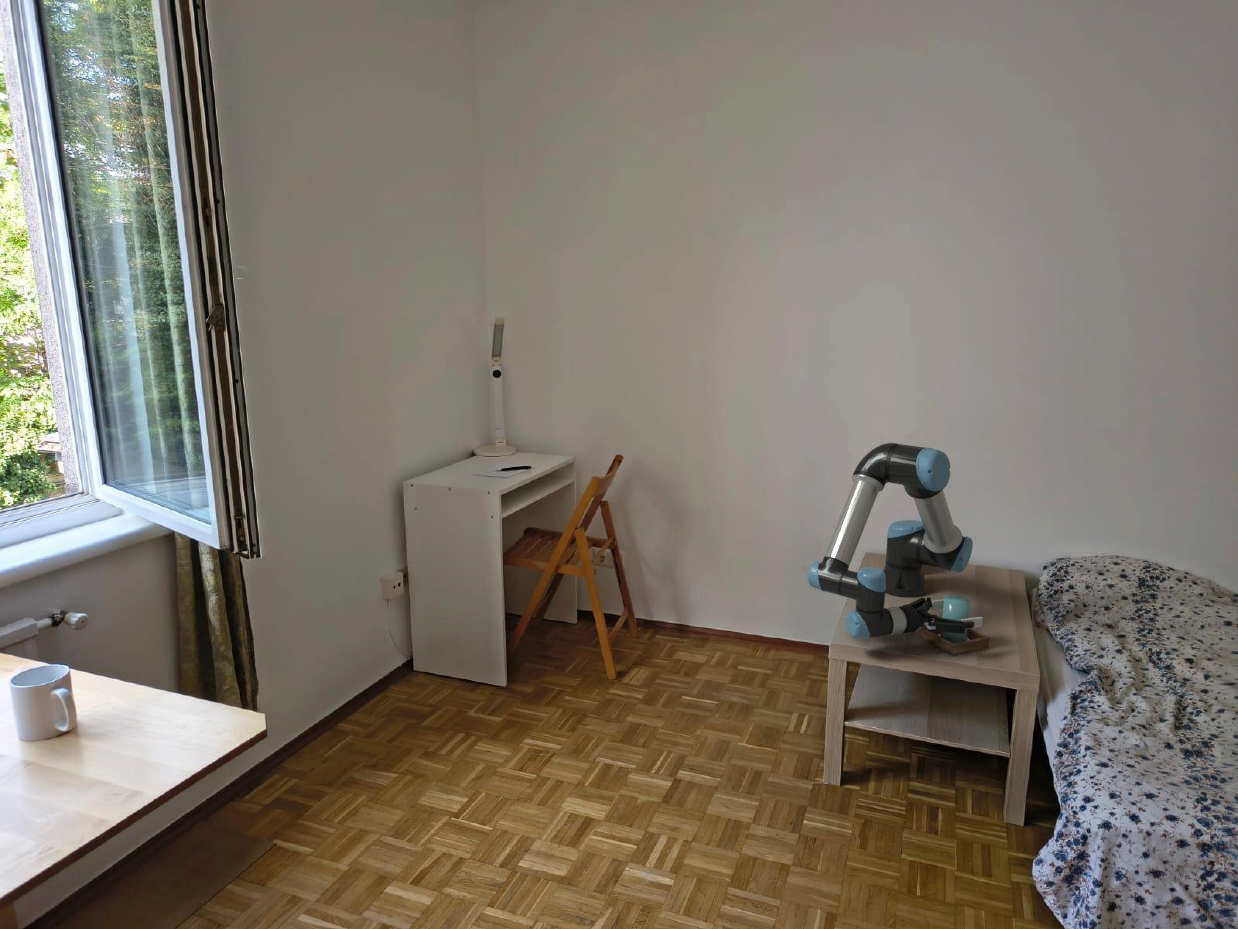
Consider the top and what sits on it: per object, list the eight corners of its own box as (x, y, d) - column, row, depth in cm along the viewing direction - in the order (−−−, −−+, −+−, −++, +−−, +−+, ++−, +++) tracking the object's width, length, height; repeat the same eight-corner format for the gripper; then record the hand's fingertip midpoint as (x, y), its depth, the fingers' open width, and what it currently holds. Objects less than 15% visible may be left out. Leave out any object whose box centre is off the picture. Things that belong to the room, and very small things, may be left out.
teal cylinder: (935, 636, 246) (938, 598, 243) (953, 632, 248) (957, 594, 246) (953, 646, 239) (957, 606, 237) (972, 641, 242) (976, 602, 239)
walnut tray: (919, 637, 247) (920, 628, 247) (953, 629, 252) (954, 620, 252) (953, 656, 236) (954, 646, 235) (988, 647, 241) (989, 637, 240)
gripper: (875, 615, 251) (939, 607, 255) (924, 651, 227) (993, 643, 232) (877, 591, 249) (941, 584, 254) (927, 625, 225) (996, 617, 230)
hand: (966, 612), depth 243 cm, fingers open, 13 cm apart
